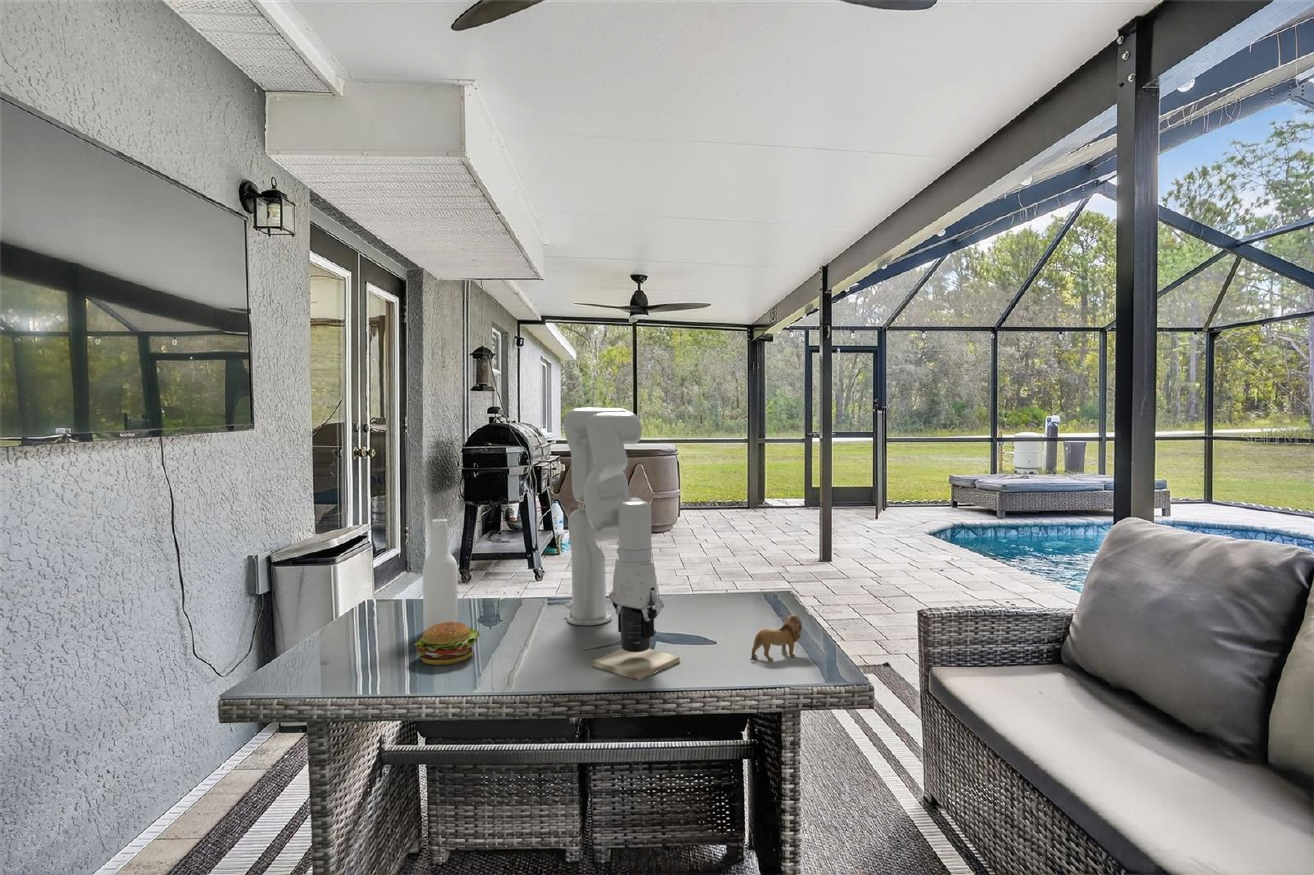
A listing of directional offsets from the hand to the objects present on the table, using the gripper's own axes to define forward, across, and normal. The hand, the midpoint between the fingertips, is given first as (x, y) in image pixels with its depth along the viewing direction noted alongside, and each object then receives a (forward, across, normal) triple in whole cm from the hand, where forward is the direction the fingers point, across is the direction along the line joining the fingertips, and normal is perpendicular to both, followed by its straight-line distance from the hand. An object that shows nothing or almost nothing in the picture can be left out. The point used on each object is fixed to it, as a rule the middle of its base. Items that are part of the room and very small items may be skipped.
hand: (636, 633), depth 144 cm
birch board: (+7, 0, 0) cm, 7 cm away
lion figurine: (+7, +22, +24) cm, 34 cm away
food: (+7, -38, -24) cm, 46 cm away
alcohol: (+7, -58, -14) cm, 60 cm away
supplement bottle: (+4, 0, 0) cm, 4 cm away
